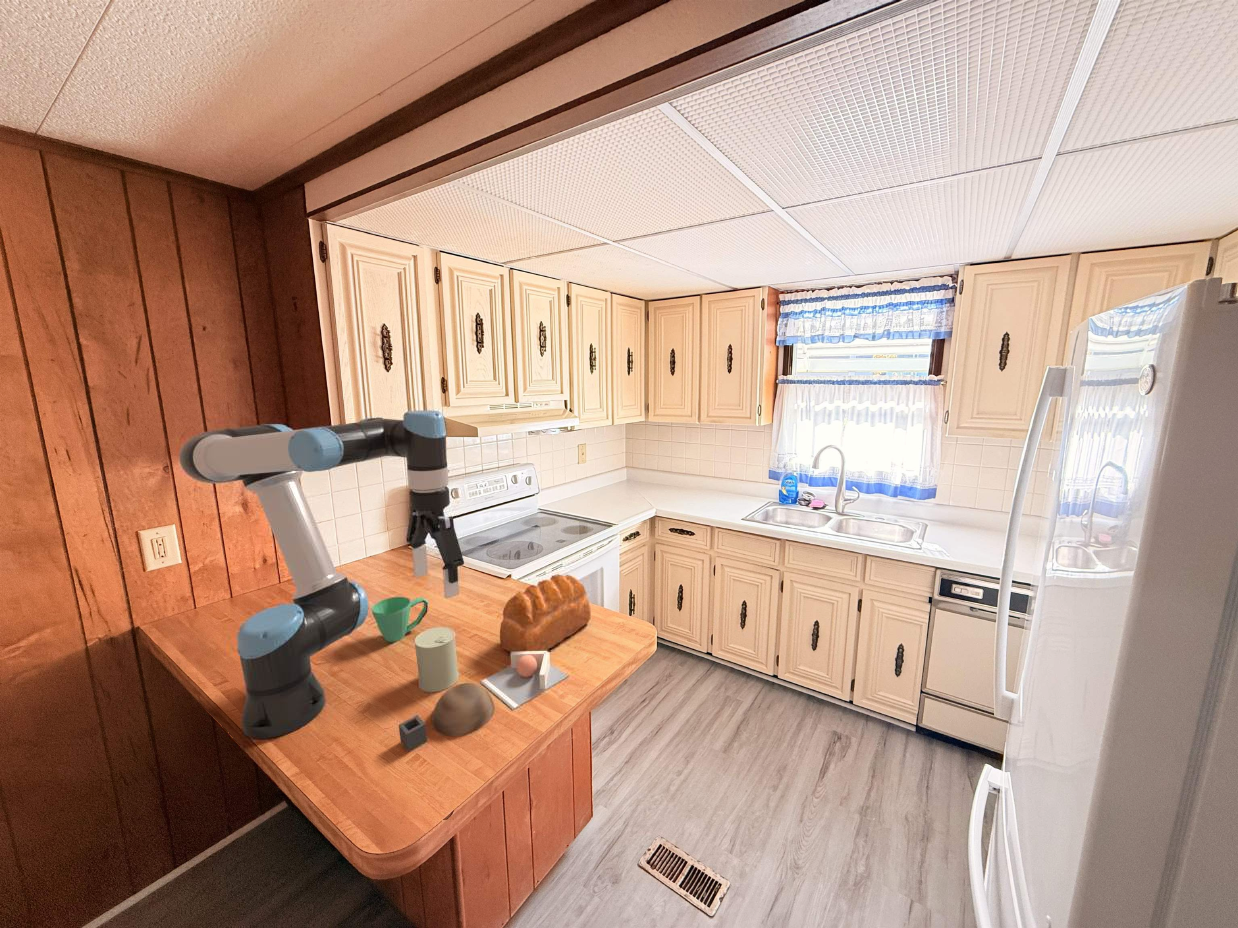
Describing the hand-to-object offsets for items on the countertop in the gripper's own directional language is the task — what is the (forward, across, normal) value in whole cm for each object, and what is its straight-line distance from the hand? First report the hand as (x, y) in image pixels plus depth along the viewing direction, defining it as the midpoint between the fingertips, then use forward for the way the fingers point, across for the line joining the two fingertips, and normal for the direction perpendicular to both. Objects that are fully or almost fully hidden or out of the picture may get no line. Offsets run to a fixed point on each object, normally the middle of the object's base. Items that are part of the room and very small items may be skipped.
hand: (435, 585), depth 101 cm
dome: (+36, -5, -2) cm, 37 cm away
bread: (+29, +6, -34) cm, 46 cm away
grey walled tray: (+29, -6, -18) cm, 35 cm away
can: (+30, +10, -4) cm, 32 cm away
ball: (+26, -5, -19) cm, 33 cm away
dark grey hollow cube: (+29, -5, +9) cm, 31 cm away
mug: (+31, +37, -7) cm, 49 cm away
